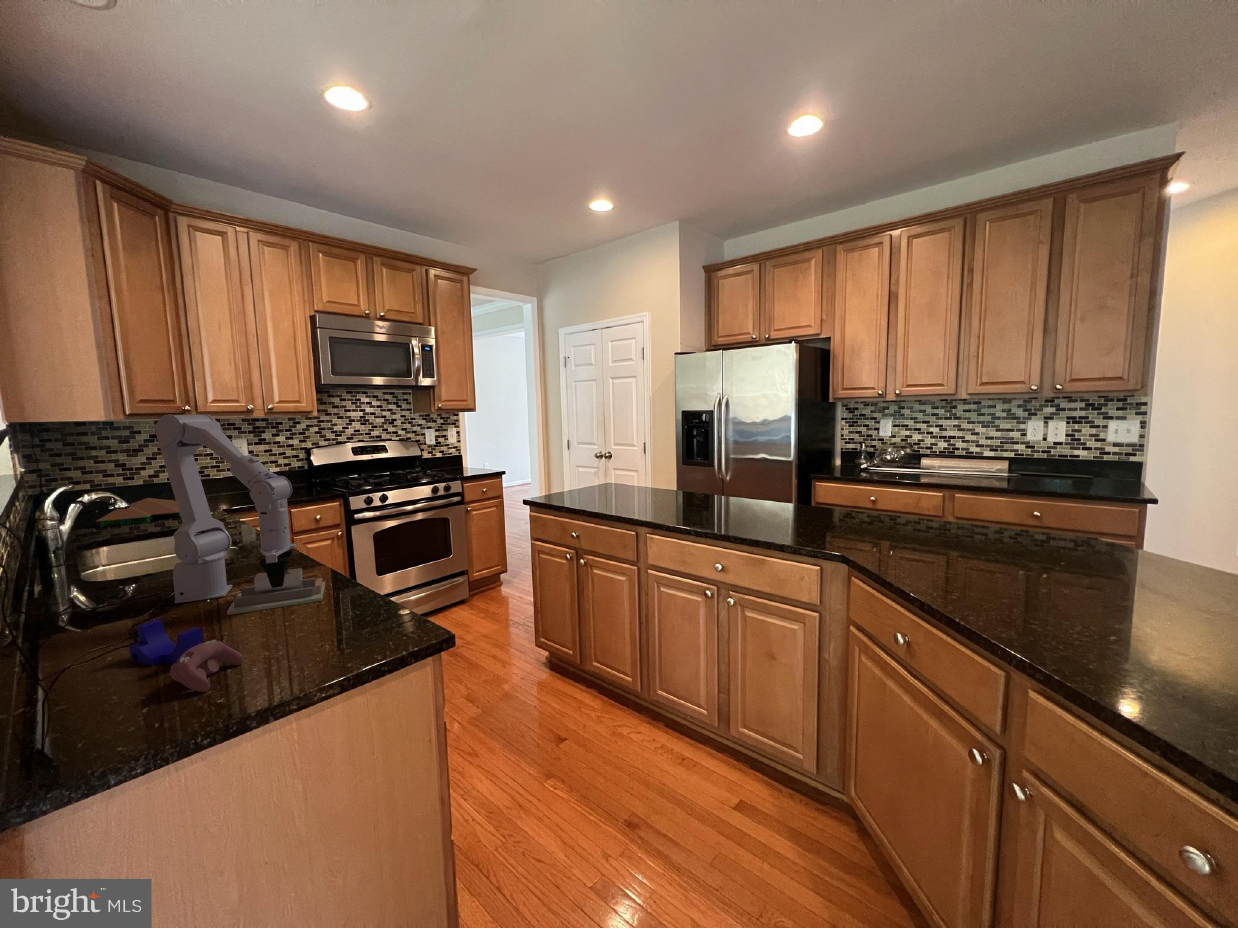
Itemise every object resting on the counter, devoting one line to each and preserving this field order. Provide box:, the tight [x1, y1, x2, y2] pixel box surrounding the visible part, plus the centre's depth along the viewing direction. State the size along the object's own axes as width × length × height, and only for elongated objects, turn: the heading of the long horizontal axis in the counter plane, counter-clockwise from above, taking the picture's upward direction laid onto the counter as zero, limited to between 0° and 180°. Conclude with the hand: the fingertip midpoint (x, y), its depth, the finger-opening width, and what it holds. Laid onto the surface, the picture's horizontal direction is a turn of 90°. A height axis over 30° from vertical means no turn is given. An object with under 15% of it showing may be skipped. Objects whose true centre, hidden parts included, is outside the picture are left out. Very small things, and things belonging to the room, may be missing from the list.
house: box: [96, 497, 181, 529], centre depth 205 cm, size 23×33×8 cm
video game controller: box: [169, 639, 244, 693], centre depth 83 cm, size 10×5×7 cm, turn 6°
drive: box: [253, 567, 304, 595], centre depth 118 cm, size 9×4×5 cm, turn 117°
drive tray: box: [226, 577, 326, 616], centre depth 118 cm, size 18×12×3 cm, turn 117°
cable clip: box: [128, 619, 204, 666], centre depth 89 cm, size 12×4×6 cm, turn 73°
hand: (278, 583), depth 118 cm, fingers closed on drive, 4 cm apart
